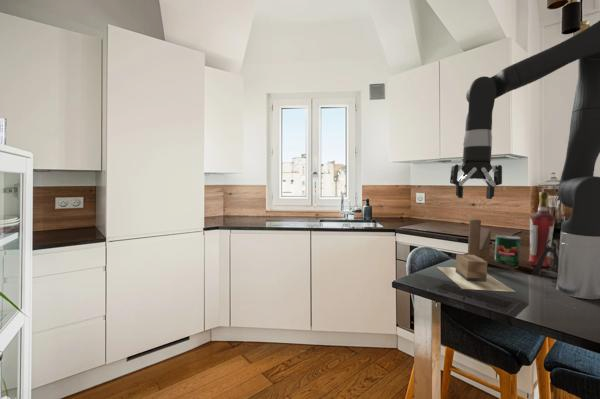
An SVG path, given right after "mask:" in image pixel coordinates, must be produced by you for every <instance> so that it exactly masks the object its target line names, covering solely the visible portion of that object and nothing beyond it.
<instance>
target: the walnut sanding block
mask: <svg viewBox="0 0 600 399" xmlns="http://www.w3.org/2000/svg"><path fill="white" fill-rule="evenodd" d="M455 255H456V257H455V268H456V273H458V274H459V275H460V276H461V277H463V278H464V279H465V280H467V281H480V282H486V278H487V274H488V273H487V272H488V264H487V262H486V261H484V260H482V259H480V258H479V257H477V256H475V255H468V254H458V253H457V254H455Z"/></svg>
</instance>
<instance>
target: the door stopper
mask: <svg viewBox="0 0 600 399" xmlns="http://www.w3.org/2000/svg"><path fill="white" fill-rule="evenodd" d="M550 241H551V239H549V240H548V241H547V242H546V244H545V251H544V252H543V254H542V256H541V258H540V259H539V261H538V263H537V265H536V266H534V268H533V269H532V272H531V274H532V275H534V276H540V277H545V278H546V277H547V278H550V277H551V278H552V279H556V280H557V275H558V262H559V250H558V242H557V240H556V239H553V240H552V243H553V244H554V245H555V246H551V247H549V245H548V244H547V243H549V242H550ZM552 243H551V244H552ZM548 252H550V253H552V255H553V259H554V263H555V267H556V271H557V273H556V272H549V271H544V270H542V268H541V267H542V265H543V263H544V260H545V258H546V256H547V253H548ZM551 278H550V279H551Z"/></svg>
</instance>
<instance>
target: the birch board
mask: <svg viewBox="0 0 600 399" xmlns="http://www.w3.org/2000/svg"><path fill="white" fill-rule="evenodd" d="M437 268H438V269H439V270H440V271H441V272H442V273H444V274H445V275H446V276H447V277H448V278H449V279H450V280H451V281H453V283H455V284H456V285H457V286H458V287H459V288H461V290H474V291H475V290H478V291H479V290H480V291H490V292H491V291H492V292H493V291H494V292H495V291H496V292H509V293H510V292H511V293H516V291H515V290H514V289H512V288H511V287H509V286H508V285H505V284H504V283H503V282H501V281H499V280H497V279H496V278H494V277H493V276H491V275H489V274H488V273H487V278H486V282H480V281H467V280H465V279H464V278H463V277H461V276H460V275H459V274H458V273H456V267H451V266H450V267H449V266H448V267H447V266H437Z"/></svg>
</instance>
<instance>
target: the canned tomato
mask: <svg viewBox="0 0 600 399" xmlns="http://www.w3.org/2000/svg"><path fill="white" fill-rule="evenodd" d="M494 245H495V246H494V262H496V263H499V264H501V265H502V264H503V265H507V266H509V267H511V268H512V269H518V268H519V267H520V252H521V237H520V236H516V235H511V234H510V235H509V234H495V244H494Z"/></svg>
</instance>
